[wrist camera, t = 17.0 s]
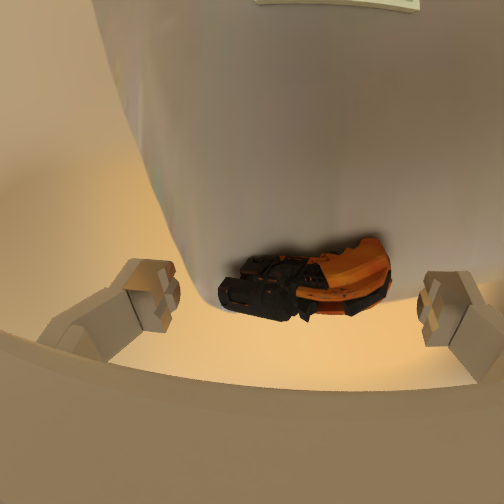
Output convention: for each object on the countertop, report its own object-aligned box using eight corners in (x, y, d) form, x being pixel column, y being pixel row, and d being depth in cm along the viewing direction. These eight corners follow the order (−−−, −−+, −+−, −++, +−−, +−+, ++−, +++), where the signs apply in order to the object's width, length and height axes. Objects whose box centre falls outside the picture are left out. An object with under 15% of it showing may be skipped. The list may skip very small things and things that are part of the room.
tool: (258, 224, 54) (204, 282, 44) (397, 226, 40) (370, 305, 31) (272, 262, 58) (225, 323, 48) (400, 272, 44) (375, 353, 35)
